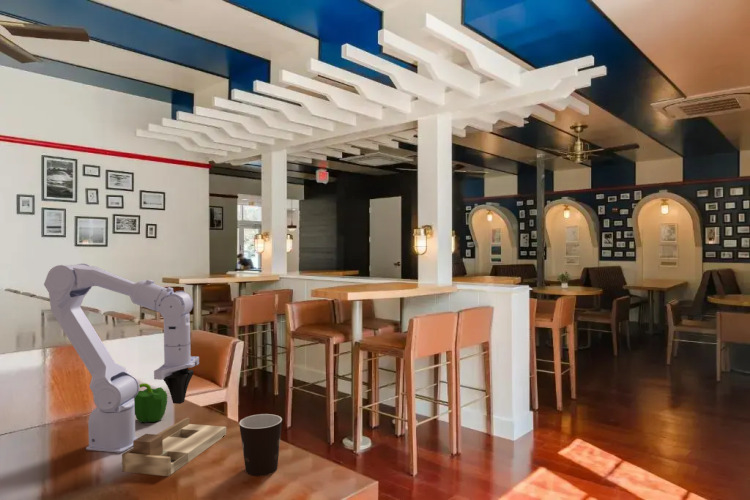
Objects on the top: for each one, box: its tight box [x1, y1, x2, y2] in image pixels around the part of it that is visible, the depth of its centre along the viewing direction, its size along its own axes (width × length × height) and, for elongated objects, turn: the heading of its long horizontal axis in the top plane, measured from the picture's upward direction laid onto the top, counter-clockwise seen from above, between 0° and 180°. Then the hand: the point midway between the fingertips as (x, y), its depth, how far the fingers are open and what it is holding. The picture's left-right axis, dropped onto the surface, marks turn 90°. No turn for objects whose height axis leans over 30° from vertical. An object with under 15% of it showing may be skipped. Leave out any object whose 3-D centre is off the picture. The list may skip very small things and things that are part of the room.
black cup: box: [238, 413, 283, 477], centre depth 109 cm, size 12×9×10 cm
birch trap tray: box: [121, 417, 227, 477], centre depth 117 cm, size 11×23×4 cm, turn 167°
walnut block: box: [132, 433, 163, 456], centre depth 109 cm, size 4×4×4 cm
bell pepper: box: [134, 383, 168, 423], centre depth 138 cm, size 8×8×10 cm
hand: (178, 402), depth 120 cm, fingers closed
